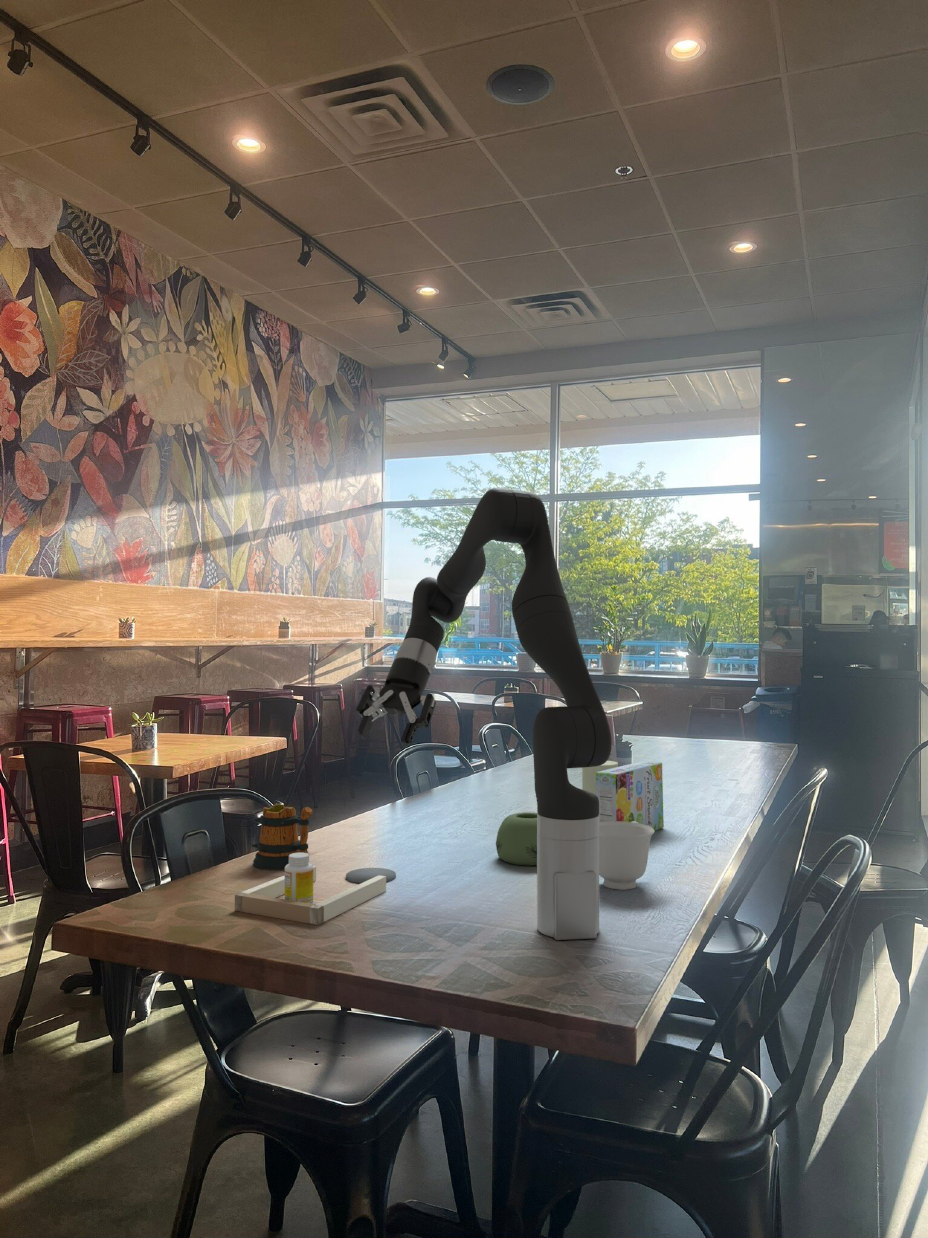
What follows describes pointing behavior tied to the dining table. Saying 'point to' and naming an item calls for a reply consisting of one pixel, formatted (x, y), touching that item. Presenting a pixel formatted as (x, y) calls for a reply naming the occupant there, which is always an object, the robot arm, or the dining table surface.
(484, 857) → the dining table surface
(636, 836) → the teacup
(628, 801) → the snack box
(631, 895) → the dining table surface
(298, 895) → the supplement bottle
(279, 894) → the beige frame
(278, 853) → the mug
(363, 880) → the coaster
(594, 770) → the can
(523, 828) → the mug
